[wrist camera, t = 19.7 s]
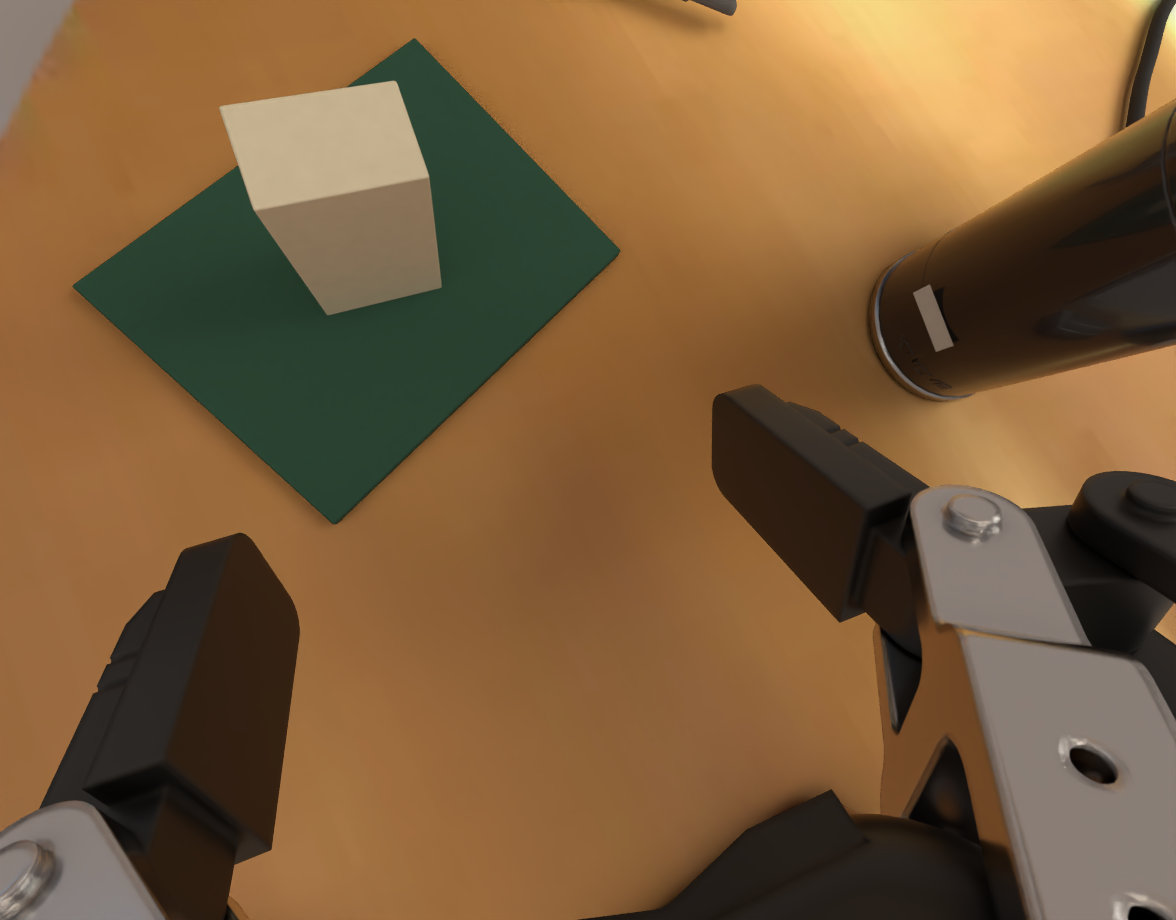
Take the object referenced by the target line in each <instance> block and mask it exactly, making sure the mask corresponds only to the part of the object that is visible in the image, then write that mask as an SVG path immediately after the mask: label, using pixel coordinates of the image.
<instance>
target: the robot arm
mask: <svg viewBox="0 0 1176 920" xmlns="http://www.w3.org/2000/svg"><path fill="white" fill-rule="evenodd" d="M1175 4H1176V0H1162V1H1161V3H1160V4H1159V6H1158V7H1157V9H1156V11H1155V13H1154V16H1153V18H1152V21H1151V24H1150V27H1149V30H1148V34H1147V37H1146V41H1145V45H1144V49H1143V53H1142V56H1141V60H1140V64H1139V67H1138V70H1137V73H1136V76H1135V80H1134V83H1133V87H1132V92H1131V97H1130V103H1129V110H1128V116H1127V123H1126V128H1125V129H1123V130H1121V131H1120V132H1118V133H1116V134H1115V135H1113V136H1111V137H1110V138H1108V139H1106V140H1104V141H1103V142H1101V143H1099V144H1098V145H1096V146H1094V147H1093V148H1091V149H1089V150H1088V151H1086V152H1084V153H1082V154H1081V155H1079V156H1077V157H1076V158H1074V159H1072V160H1071V161H1069V162H1067V163H1066V164H1064V165H1062V166H1060V167H1059V168H1057V169H1055V170H1054V171H1052V172H1050V173H1049V174H1047V175H1045V176H1043V177H1042V178H1040V179H1038V180H1037V181H1035V182H1033V183H1032V184H1030V185H1028V186H1027V187H1025V188H1023V189H1021V190H1020V191H1018V192H1016V193H1015V194H1013V195H1011V196H1010V197H1008V198H1006V199H1005V200H1003V201H1001V202H999V203H998V204H996V205H994V206H993V207H991V208H989V209H988V210H986V211H984V212H983V213H981V214H979V215H977V216H976V217H974V218H972V219H971V220H969V221H967V222H966V223H964V224H962V225H961V226H959V227H957V228H955V229H953V230H952V231H950V232H948V233H946V234H945V235H943V236H941V237H940V238H938V239H936V240H935V241H933V242H931V243H930V244H928V245H926V246H924V247H923V248H921V249H919V250H918V251H915V252H912V253H910V254H908V255H906V256H904V257H903V258H901V259H899V260H898V261H896V262H894V263H893V264H892V265H890V266H889V267H888V268H887V269H886V270H885V271H884V272H883V274H882V275H881V276H880V278H879V280H878V281H877V283H876V285H875V288H874V290H873V293H872V297H871V301H870V308H869V324H870V331H871V336H872V340H873V343H874V346H875V349H876V351H877V354H878V356H879V358H880V360H881V361H882V363H883V365H884V366H885V368H886V369H887V370H888V372H889V373H890V374H891V375H892V377H893V378H894V379H895V380H896V381H897V382H898V383H899V384H901V385H902V386H903V387H904V388H906V389H907V390H909V391H910V392H912V393H914V394H916V395H918V396H920V397H922V398H926V399H929V400H934V401H952V400H957V399H961V398H965V397H968V396H971V395H973V394H975V393H978V392H982V391H986V390H990V389H994V388H999V387H1003V386H1007V385H1011V384H1016V383H1020V382H1025V381H1029V380H1033V379H1037V378H1041V377H1045V376H1049V375H1053V374H1058V373H1062V372H1066V371H1070V370H1074V369H1078V368H1082V367H1086V366H1091V365H1095V364H1099V363H1103V362H1107V361H1111V360H1115V359H1119V358H1123V357H1128V356H1132V355H1136V354H1140V353H1144V352H1148V351H1152V350H1156V349H1161V348H1165V347H1169V346H1173V345H1176V99H1174V100H1172V101H1170V102H1169V103H1167V104H1165V105H1164V106H1162V107H1160V108H1159V109H1157V110H1155V111H1154V112H1152V113H1150V114H1148V115H1147V116H1145V109H1146V102H1147V96H1148V90H1149V84H1150V80H1151V76H1152V72H1153V69H1154V66H1155V62H1156V59H1157V56H1158V52H1159V48H1160V44H1161V40H1162V36H1163V32H1164V29H1165V25H1166V22H1167V19H1168V16H1169V14H1170V12H1171V10H1172V8H1173V7H1174V5H1175ZM1144 116H1145V117H1144ZM712 471H713V475H714V478H715V481H716V484H717V486H718V488H719V490H720V491H721V493H722V494H723V495H724V497H725V498H726V499H727V500H728V501H729V502H730V503H731V504H732V505H733V506H734V508H735V509H736V510H737V511H738V512H739V513H740V514H741V515H742V516H743V517H744V519H745V520H746V521H747V522H748V523H749V524H750V525H751V526H752V527H753V528H754V529H755V531H756V532H757V533H758V534H759V535H760V536H761V537H762V538H763V539H764V540H765V542H766V543H767V544H768V545H769V546H770V547H771V548H772V549H773V550H774V551H775V552H776V554H777V555H778V556H779V557H780V558H781V559H782V560H783V561H784V562H785V563H786V565H787V566H788V567H789V568H790V569H791V570H792V571H793V572H794V573H795V574H796V576H797V577H798V578H799V579H800V580H801V581H802V582H803V583H804V584H805V585H806V586H807V588H808V589H809V590H810V591H811V592H812V593H813V594H814V595H815V596H816V597H817V599H818V600H819V601H820V602H821V603H822V604H823V605H824V606H825V607H826V608H827V609H828V611H829V612H830V613H831V614H832V615H833V616H834V617H835V618H836V619H837V620H838V622H839V623H840V622H843V621H845V620H848V619H850V618H853V617H855V616H858V615H860V614H862V613H865V612H866V613H867V614H868V615H869V616H870V617H871V618H872V619H873V620H874V621H875V622H876V623H875V626H874V630H873V644H874V654H875V663H876V673H877V683H878V693H879V702H880V712H881V722H882V732H883V742H884V762H883V771H882V778H881V792H880V809H881V814H848V813H847V811H846V810H845V808H844V807H843V805H842V804H841V802H840V801H839V799H838V798H837V796H836V795H835V793H834V792H833V791H832V789H831V790H829V791H827V792H825V793H823V794H821V795H818V796H816V797H814V798H812V799H810V800H808V801H806V802H804V803H802V804H800V805H797V806H795V807H793V808H791V809H789V810H787V811H785V812H783V813H781V814H778V815H776V816H774V817H772V818H770V819H768V820H766V821H764V822H762V823H760V824H757V825H755V826H753V827H751V828H749V829H747V830H746V831H745V832H744V833H743V834H742V835H741V836H740V837H738V838H737V839H736V840H735V841H734V842H733V843H732V844H731V845H730V846H729V847H728V848H727V849H726V850H725V851H724V852H723V853H722V854H721V855H720V856H719V857H718V858H717V859H716V860H715V861H714V862H712V863H711V864H710V865H709V866H708V867H707V868H706V869H705V870H704V871H703V872H702V873H701V874H700V875H699V876H698V877H697V878H696V879H695V880H694V881H693V882H692V883H691V884H690V885H689V886H688V887H686V888H685V889H684V890H683V891H682V892H681V893H680V894H679V895H678V896H677V897H676V898H675V899H674V900H673V901H672V902H670V903H669V904H668V905H666V906H664V907H662V908H659V909H655V910H650V911H642V912H634V913H627V914H619V915H611V916H603V917H595V918H587V919H580V920H1176V645H1175V644H1174V643H1173V642H1171V641H1170V640H1168V639H1167V638H1166V637H1164V636H1163V635H1161V634H1160V633H1159V632H1157V631H1156V630H1154V628H1155V627H1156V626H1157V625H1158V623H1159V622H1160V621H1161V619H1162V618H1163V617H1164V616H1165V614H1166V613H1167V612H1168V610H1169V609H1170V608H1171V607H1172V605H1173V604H1174V603H1175V604H1176V482H1175V481H1173V480H1169V479H1166V478H1162V477H1159V476H1154V475H1150V474H1144V473H1138V472H1128V471H1111V472H1103V473H1099V474H1096V475H1093V476H1091V477H1090V478H1088V479H1087V480H1086V481H1085V483H1084V484H1083V486H1082V488H1081V490H1080V492H1079V493H1078V495H1077V497H1076V499H1075V501H1074V503H1073V505H1064V506H1051V507H1038V508H1025V509H1021V508H1020V507H1019V506H1017V505H1016V504H1014V503H1013V502H1011V501H1010V500H1008V499H1006V498H1004V497H1002V496H1000V495H997V494H995V493H992V492H989V491H986V490H983V489H979V488H975V487H970V486H963V485H939V486H934V487H929V486H928V485H926V484H925V483H923V482H922V481H920V480H919V479H917V478H916V477H914V476H913V475H911V474H910V473H908V472H907V471H905V470H904V469H902V468H901V467H900V466H898V465H897V464H895V463H894V462H892V461H891V460H889V459H888V458H886V457H885V456H883V455H882V454H880V453H879V452H877V451H876V450H874V449H873V448H871V447H870V446H869V445H867V444H866V443H864V442H859V441H858V438H857V437H855V436H854V435H852V434H851V433H849V432H848V431H846V430H845V429H843V430H841V429H840V426H839V425H838V424H836V423H835V422H833V421H832V420H830V419H829V418H827V417H826V416H824V415H823V414H821V413H820V412H818V411H816V410H813V409H810V408H807V407H804V406H801V405H798V404H795V403H792V402H787V403H786V402H784V401H783V400H781V399H780V398H778V397H777V396H776V395H774V394H773V393H771V392H770V391H769V390H767V389H766V388H764V387H763V386H761V385H759V384H753V385H749V386H746V387H742V388H739V389H736V390H732V391H729V392H725V393H722V394H719V395H717V396H716V397H715V399H714V401H713V408H712ZM299 635H300V627H299V619H298V615H297V611H296V608H295V605H294V603H293V601H292V599H291V597H290V596H289V594H288V593H287V591H286V590H285V588H284V587H283V585H282V584H281V582H280V581H279V579H278V578H277V576H276V575H275V573H274V572H273V570H272V569H271V567H270V566H269V564H268V563H267V561H266V560H265V558H264V557H263V555H262V554H261V552H260V551H259V549H258V548H257V546H256V545H255V544H254V542H253V541H252V540H251V539H250V538H249V537H248V536H247V535H246V534H243V533H237V534H234V535H230V536H227V537H223V538H220V539H216V540H213V541H210V542H206V543H203V544H199V545H196V546H192V547H189V548H186V549H184V550H183V551H182V552H181V554H180V556H179V558H178V560H177V562H176V565H175V567H174V570H173V572H172V574H171V577H170V579H169V581H168V584H167V586H166V589H165V590H162V591H159V592H155V593H154V594H153V595H152V596H151V597H150V598H149V599H148V600H147V601H146V603H145V604H144V605H143V606H142V607H141V608H140V609H139V610H138V612H137V613H136V614H135V615H134V616H133V617H132V618H131V619H130V621H129V622H128V623H127V624H126V625H125V627H124V629H123V631H122V633H121V636H120V638H119V640H118V642H117V644H116V646H115V648H114V651H113V653H112V655H111V657H110V659H111V664H107V665H106V668H105V670H104V672H103V674H102V676H101V678H100V680H99V682H98V685H97V687H98V692H96V693H93V695H92V697H91V699H90V702H89V704H88V706H87V708H86V710H85V712H84V714H83V717H82V719H81V721H80V723H79V725H78V727H77V729H76V731H75V734H74V736H73V738H72V740H71V742H70V744H69V746H68V748H67V751H66V753H65V755H64V757H63V759H62V761H61V763H60V765H59V768H58V770H57V772H56V774H55V776H54V778H53V780H52V782H51V785H50V787H49V789H48V791H47V793H46V795H45V797H44V800H43V802H42V804H41V806H40V808H39V810H37V811H35V812H33V813H31V814H29V815H27V816H25V817H23V818H21V819H20V820H18V821H16V822H15V823H13V824H12V825H10V826H8V827H7V828H6V829H4V830H3V831H1V832H0V920H250V919H249V918H248V916H247V915H246V914H245V912H244V911H243V910H242V908H241V907H240V906H239V904H238V903H237V902H236V901H235V900H234V899H233V898H232V897H230V896H229V891H230V885H231V880H232V874H233V868H234V865H235V864H238V863H240V862H243V861H245V860H248V859H250V858H252V857H255V856H257V855H260V854H262V853H265V852H267V851H270V850H271V849H272V842H273V834H274V826H275V819H276V811H277V803H278V796H279V788H280V781H281V773H282V765H283V758H284V750H285V742H286V735H287V727H288V720H289V712H290V704H291V697H292V689H293V681H294V674H295V666H296V659H297V651H298V643H299Z"/></svg>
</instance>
